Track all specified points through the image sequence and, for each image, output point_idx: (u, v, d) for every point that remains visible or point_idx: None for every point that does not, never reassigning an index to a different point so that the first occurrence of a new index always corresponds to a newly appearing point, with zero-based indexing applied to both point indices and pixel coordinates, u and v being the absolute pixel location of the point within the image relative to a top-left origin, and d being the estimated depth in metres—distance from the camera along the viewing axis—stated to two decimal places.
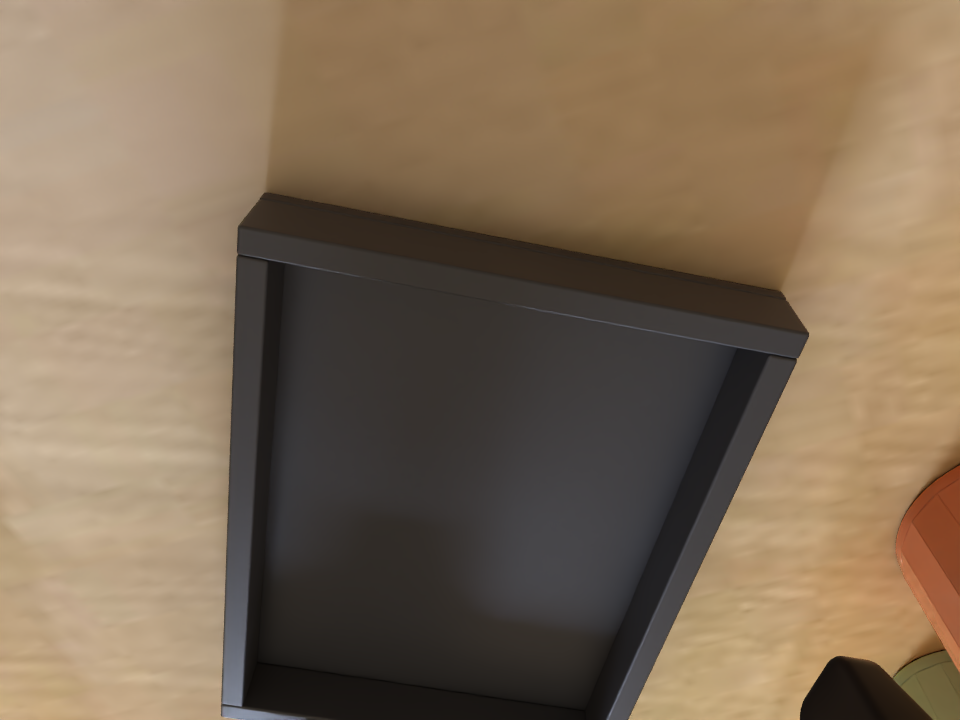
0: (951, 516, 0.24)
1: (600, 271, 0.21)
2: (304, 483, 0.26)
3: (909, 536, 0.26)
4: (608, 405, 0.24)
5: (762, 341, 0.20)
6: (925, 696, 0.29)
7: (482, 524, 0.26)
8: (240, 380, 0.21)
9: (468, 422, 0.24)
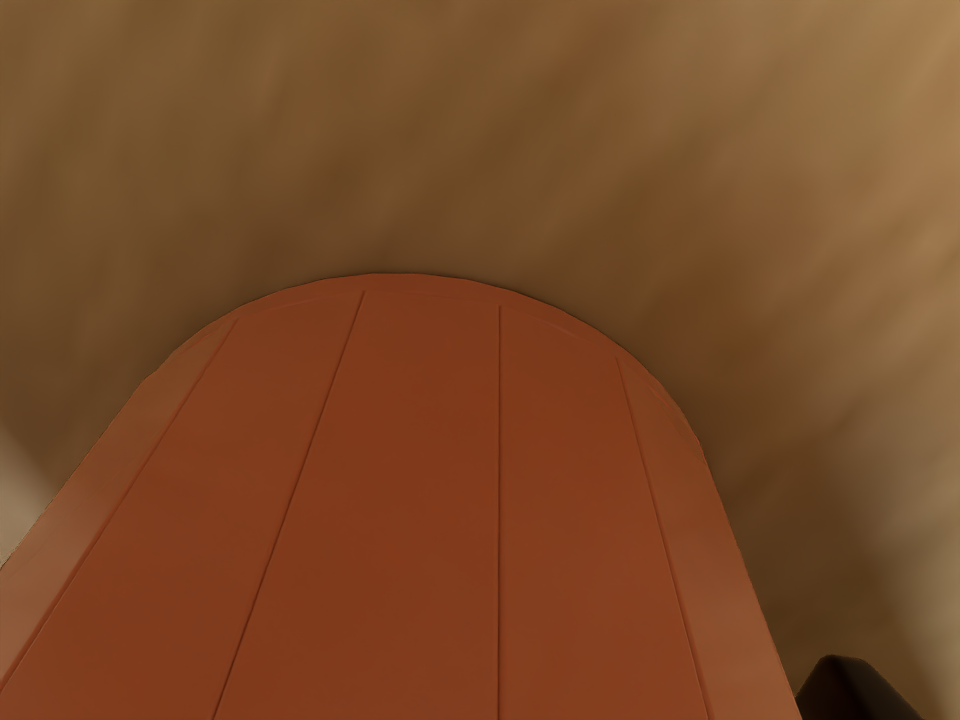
0: None
1: None
2: None
3: None
4: None
5: None
6: None
7: None
8: None
9: None
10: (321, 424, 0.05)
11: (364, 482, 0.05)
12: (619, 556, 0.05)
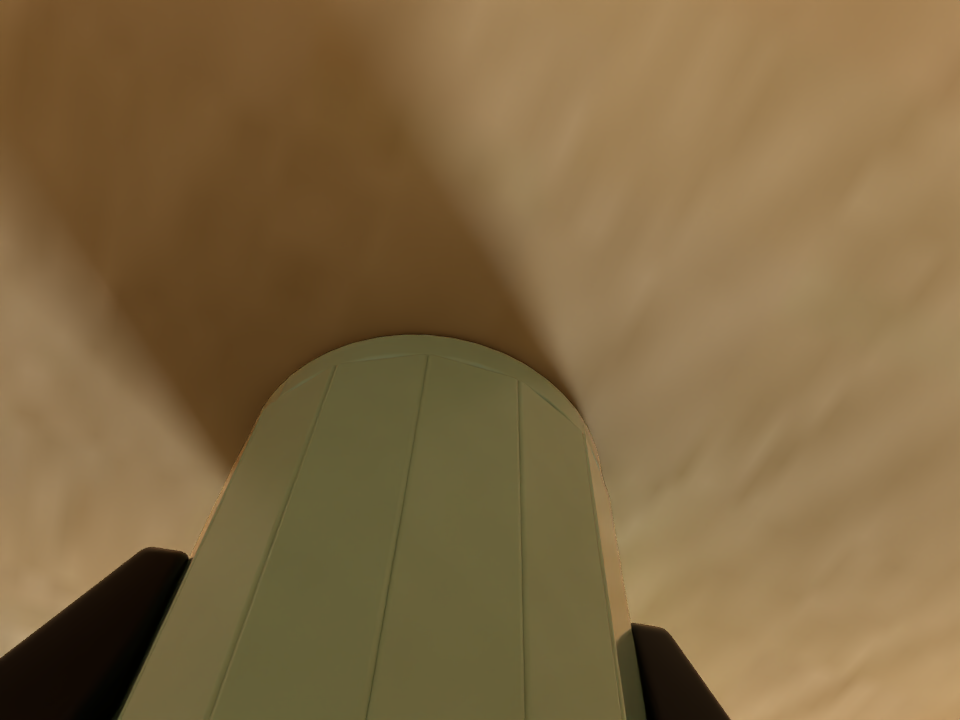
0: None
1: None
2: None
3: None
4: None
5: None
6: None
7: None
8: None
9: None
10: None
11: None
12: None
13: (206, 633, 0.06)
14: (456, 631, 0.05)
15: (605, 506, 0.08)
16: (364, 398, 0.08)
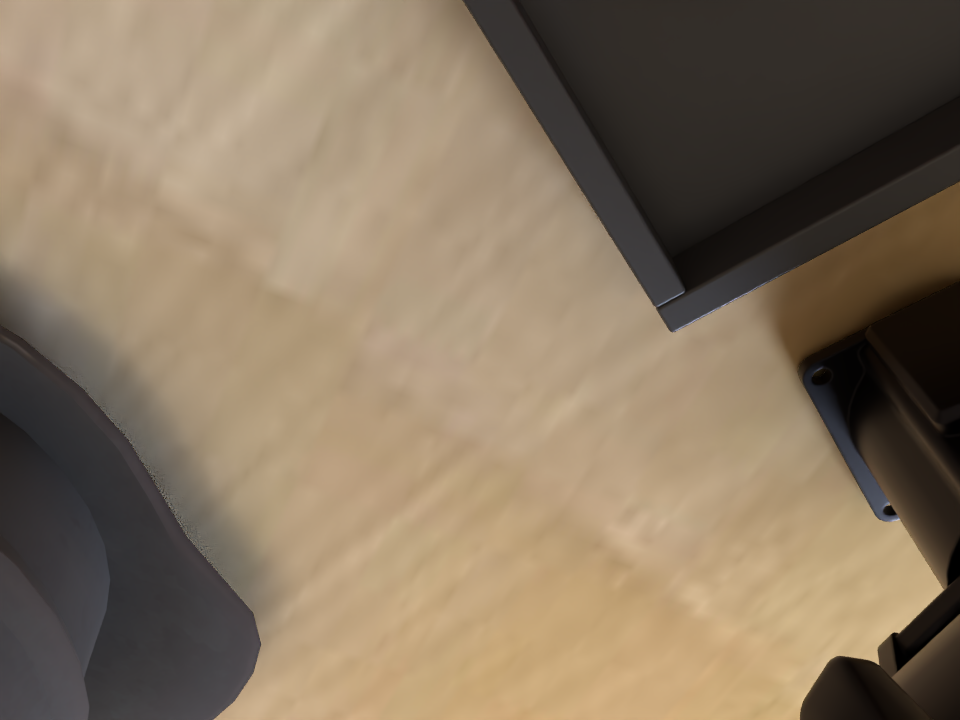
0: None
1: None
2: None
3: None
4: None
5: None
6: None
7: None
8: None
9: None
10: None
11: None
12: None
13: None
14: None
15: None
16: None
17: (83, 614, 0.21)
